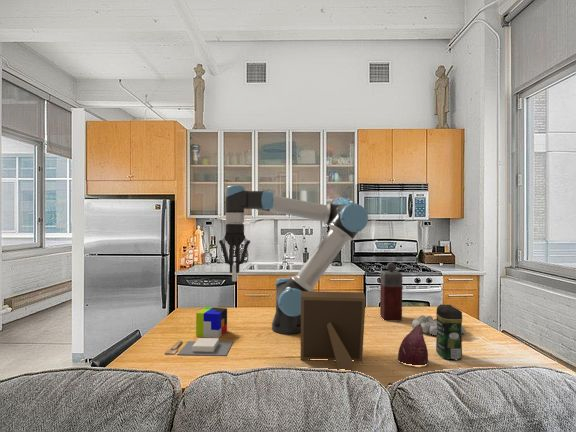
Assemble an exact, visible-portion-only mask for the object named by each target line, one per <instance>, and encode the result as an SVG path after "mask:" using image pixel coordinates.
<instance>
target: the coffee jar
mask: <svg viewBox="0 0 576 432" xmlns="http://www.w3.org/2000/svg"><path fill="white" fill-rule="evenodd" d="M436 318H437V336H435V337H436V339H435V340H436V343H435V345H436V346H435V352H436V353H437V355H438V356H440V357H441V356H442V357H444V358H449V359H459V360H461V359H462V358H463V344H462V340H463V338H462V337H463V336H462V335H463V334H462V332H461V327H462V326H463V311H462V310H460V309H458V308H457V307H455V306H453V305H452V304H439V305H438V306H437V307H436ZM442 357H441V358H442ZM444 358H443V359H444ZM460 358H461V359H460ZM449 359H448V360H449Z"/></svg>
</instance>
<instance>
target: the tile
mask: <svg viewBox="0 0 576 432" xmlns="http://www.w3.org/2000/svg"><path fill="white" fill-rule="evenodd" d="M195 341H196V342H195V343H194V345H193V346H192V351H193V352H214V351H215V349H216V347H217V346H218V344H219V342H220V337H219V338H211V337H197V340H195Z"/></svg>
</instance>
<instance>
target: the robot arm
mask: <svg viewBox="0 0 576 432" xmlns="http://www.w3.org/2000/svg"><path fill="white" fill-rule="evenodd" d="M225 188H226V190H225V223H226V224H225V233H224V234H225V235H223V236H224V237H223V238H222V239H220V240H219V241H218V243H219V244H220V246H221V249H222V254H223V259H224V263H225V264H227V265H229V273H230V274H231V281H232V282H237V281H238V274H239V273H240V268H241V267H240V265H243V264H244V263H245V259H246V255H247V251H248V248H249V245H250V244H251V240H249V239H247V238H246V235H245V224H244V223H245V209H246V210H258V211H263V212H264V211H265V212H271V213H276V214H283V215H287V216H290V217H291V216H293V217H296V218H302V219H303V218H304V219H308V220H313V221H317V222H318V221H320V222H323V223H324V224H325V225H329V230H328V231H327V233H326V234H325V236H324V237H323V238H322V239H321V241H320V242H319V243H318V245H317V247H316V248H315V249H314V250H313V252H312V253H311V255H310V257H309V258H308V259H307V261H306V262H305V263H304V265H303V266H302V268H301V269H300V270H299V272H298V273H297V275H292V276H290V277H280V278H279V277H278V278H277V279H276V283H275V313H274V317H273V320H272V323H271V330H272V331H273V332H275V333H278V334H284V335H293V334H299V333H300V334H301V291H314V287H315V286H316V285H317V284H318V282H319V281H320V279H321V278H322V277H323V275H324V274H325V272H326V271H327V269H328V268H329V267H330V265H331V264H332V263H333V261H334V260H335V258H336V257H337V256H338V254H339V253H340V251H341V250H342V249H343V247H344V246H345V245H346V243H347V242H349V241H353V240H354V238H355V237H356V236H357V234H358V233H359V232H361V231H362V230H363V229H365V228H366V227H367V224H368V221H369V215H368V211H367V210H366V208H365V207H364V206H362V205H360V204H359V203H355V202H350V203H343V204H333V203H327V204H323V203H316V202H311V201H307V200H306V201H305V200H301V199H300V200H299V199H295V198H291V197H290V198H289V197H285V196H279V195H275V194H274V192H273V191H272V190H271V191H269V190H246V189H245V186H244V185H235V184H234V185H232V184H231V185H228V186H227V187H225ZM226 243H227V244H228V245H229V253H228V251H227V250H228V249H227V246H226ZM242 243H244V246H243V248H242V252H240V251H241V248H240V247H241V245H242ZM234 247H235V248H234ZM234 249H235V252H234ZM234 253H235V256H234ZM228 254H229V255H228ZM240 255H241V257H240ZM234 257H235V264H234ZM240 258H241V259H240Z"/></svg>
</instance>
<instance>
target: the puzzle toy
mask: <svg viewBox="0 0 576 432" xmlns="http://www.w3.org/2000/svg"><path fill="white" fill-rule="evenodd" d="M195 315H196V316H195V317H196V318H195V324H196V325H195V332H196V333H195V337H197V338H219V339H220V337H221V336H222V335H224V334H225V333H227V331H228V308H227V307H214V306H213V307H212V306H211V307H209V306H205V307H203V308H202V309H201V310H199V311H197V312H196V313H195Z"/></svg>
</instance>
